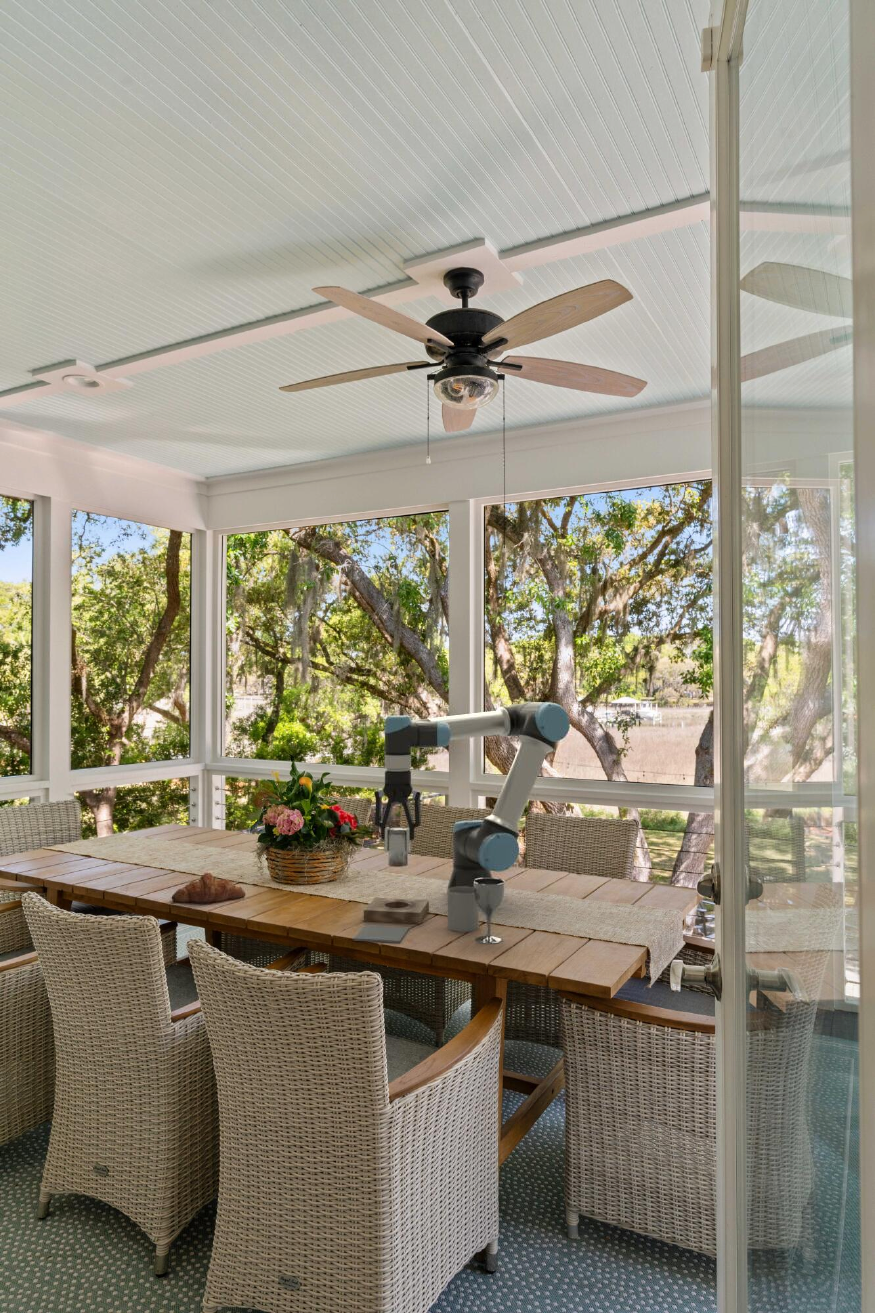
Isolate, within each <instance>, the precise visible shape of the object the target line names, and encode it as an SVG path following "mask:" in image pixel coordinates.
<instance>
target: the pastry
mask: <svg viewBox="0 0 875 1313" xmlns="http://www.w3.org/2000/svg"><path fill="white" fill-rule="evenodd" d="M245 896H246V892H245V890H244V889H243V888H242V886H236V885H235V883H233V882H231V881H230V880H229V879H219V880H218V879H217V878H215V877H214V875H213V874H212V873H210V872H206V873H204V874H202V875H201V876H200V879H198V881H196V880H195V881H193V880H192V881H190V882H189V883H187V884H186V885H185V886H184V887H182V888H179V889H177V890H176V891H175V892H174V893H173V895H172V896H171V900H172V902H173V903H180V904H189V903H191V904H203V905H207V904H214V903H216V904H218V903H222V902H226V901H230V900H231V901H233V900H237V899H238V900H239V899H241V898H244V897H245Z"/></svg>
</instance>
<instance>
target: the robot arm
mask: <svg viewBox="0 0 875 1313" xmlns="http://www.w3.org/2000/svg"><path fill="white" fill-rule="evenodd" d="M570 723H571V722H570V718H569V715H568V713H567V710H566V709H565V708H564V707H563V706H562V705H560V704H558V703H556V702H554V703H553V702H550V701H545V702H542V701H541V702H539V701H527V702H522V703H518V704H514V705H513V704H511V705H508V706H500V707H498V708H497V709H496V710H493V711H492V710H491V711H483V712H475V713H474V712H473V713H467V714H458V715H446V716H439V717H431V718H422V719H412V718H411V716H410V715H388V716H386V718H385V722H384V768H385V769H386V770H385V771H384V786H383V788H382V789H378V790H376V791H375V790H374V792H373V795H374V797H375V814H374V825H375V826H377V827H379V828H380V829H381V831H380V832H381V833H380V835H381V840H384V852H385V853H386V852H387V853H388V829H390V826H388V824H389V820H390V816H391V812H392V808H393V806H394V803H400V804H401V806H402V807H403V811H404V814H405V817H406V820H407V821H406V822H407V825H408V827H407V828H406V829H407V852H408V853H410V852H411V851H412V841H414V840H415V835H416V834H415V828H419V827H420V826H421V824H422V814H421V797H422V791H421V790H415V789H413V787H412V771H411V770H410V769H411V768H412V749H424V748H425V749H426V748H427V749H429V748H430V749H431V748H435V749H436V748H437V749H438V748H445V747H448V745H449V744H450V742H451V741H455V740H461V739H472V738H479V737H488V736H496V735H499V736H501V737H503V738H506V737H518V740H519V742H520V744H519V747H518V749H517V750H516V751H517V752H516V753H515V757H514V759H513V761H512V764H511V765H510V769H509V771H508V773H507V776H506V778H505V781H504V783H503V786H502V788H501V791H500V793H499V795H498V798H497V800H496V802H495V805H494V807H493V810H492V812H491V814H490V815H488V816H486V817H484V818H483V819H478V820H477V819H475V820H474V819H473V820H462V821H456V822H455V823H454V825H453V827H452V828H453V829H452V830H453V831H452V872H451V874H450V878H449V881H448V883H447V886H446V887H447V888H446V889H447V891H446V892H447V893H446V894H447V895H448V889H449V888H452V887H459V886H467V887H474V880H475V879H478V878H486V877H490V878H493V874H492V872H497V873H499V872H504V871H506V870H509V869H510V868H512V867H513V865H515V863H516V862H517V860H518V858H519V855H520V847H519V843H518V840H519V837H520V834H521V833H520V831H519V828H518V825H519V823H520V820H521V818H522V816H523V814H524V811H525V808H526V806H527V803H528V801H529V799H530V797H531V794H532V791H533V789H534V786H535V784H536V781H537V780H538V776H539V774H540V772H541V768H542V766H543V764H544V762H545V759H546V757H547V754H550V753H553V751H554V750H555V748H556V745H557V743H558V742H559V741H561V740H563V739H565V738H566V736H567V735H568V733H569V730H570V727H571V724H570ZM411 794H412V798H413V800H414V802H413V803H414V804H413V805H414V817H413V813H412V811H411V806H410V801H409V797H410V796H411ZM384 795H385V796H386V798H387V804H386V806H385V807H386V808H385V811H384V815H383V818H382V807H383V806H382V805H383V802H382V801H383V797H384Z"/></svg>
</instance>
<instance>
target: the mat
mask: <svg viewBox="0 0 875 1313" xmlns="http://www.w3.org/2000/svg"><path fill="white" fill-rule="evenodd" d="M409 931H410V927H408V926H407V927H406V926H389V925H388V926H387V925H370V924H367V925H366V924H365V925H364V926H363V927H362V928H361V930H360V931H359V932H358V933H357V934H356V935H355V936H354V938H353V941H355V942H357V941H358V942H370V943H373V942H374V943H389V944H390V943H391V944H401V942H402V941H403V939H404V938H405V937H406V935H407V933H408V932H409Z"/></svg>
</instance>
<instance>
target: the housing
mask: <svg viewBox="0 0 875 1313" xmlns="http://www.w3.org/2000/svg"><path fill="white" fill-rule="evenodd" d="M429 910H430V900H429V899H419V898H418V899H415V898H414V899H411V898H394V897H391V898H390V897H375V898H373V900H372V901H371V902H369V904H367V906H366V907H365V908H364V909H363V921H364V922H375V923H376V922H379V923H380V922H381V923H395V924H396V923H399V924H416V925H418V924H419V925H420V924H421V923H422V922H423V920H424V919H425V917H426V915H427V914H428V912H429Z"/></svg>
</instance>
